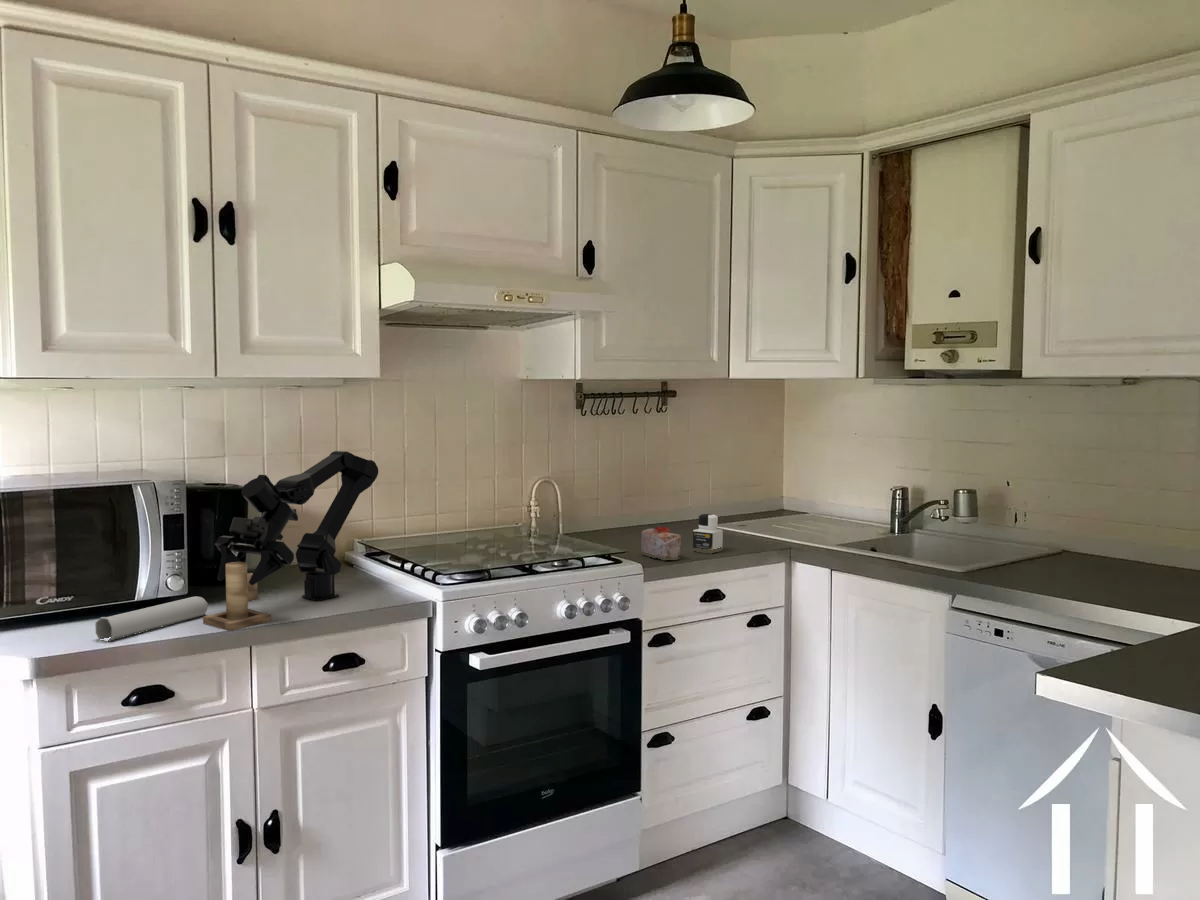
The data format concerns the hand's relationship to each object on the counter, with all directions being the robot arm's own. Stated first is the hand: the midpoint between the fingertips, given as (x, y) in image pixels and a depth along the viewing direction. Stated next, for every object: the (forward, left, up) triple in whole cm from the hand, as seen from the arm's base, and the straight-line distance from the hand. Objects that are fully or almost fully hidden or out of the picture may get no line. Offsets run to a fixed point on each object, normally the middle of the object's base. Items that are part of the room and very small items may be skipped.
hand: (234, 581), depth 201 cm
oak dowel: (-1, 0, -9) cm, 9 cm away
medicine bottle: (-141, +40, -9) cm, 147 cm away
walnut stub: (-14, -17, -9) cm, 24 cm away
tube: (+12, -10, -10) cm, 18 cm away
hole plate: (0, 0, -9) cm, 9 cm away
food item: (-123, +34, -9) cm, 128 cm away
